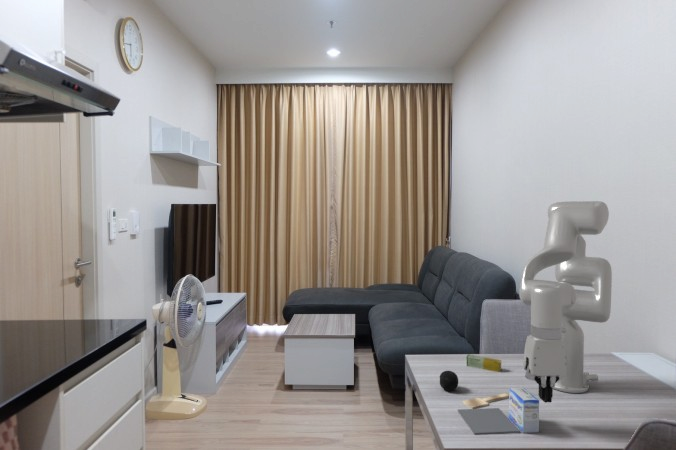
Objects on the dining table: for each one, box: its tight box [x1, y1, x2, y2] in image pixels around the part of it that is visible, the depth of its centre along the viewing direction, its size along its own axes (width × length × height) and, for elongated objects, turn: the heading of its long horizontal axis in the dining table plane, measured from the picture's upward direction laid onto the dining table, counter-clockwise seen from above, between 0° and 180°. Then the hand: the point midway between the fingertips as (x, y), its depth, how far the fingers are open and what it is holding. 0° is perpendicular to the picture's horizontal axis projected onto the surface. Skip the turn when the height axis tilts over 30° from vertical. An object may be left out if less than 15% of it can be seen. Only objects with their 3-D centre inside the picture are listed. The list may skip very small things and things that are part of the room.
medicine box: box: [508, 387, 540, 434], centre depth 116 cm, size 8×4×9 cm, turn 5°
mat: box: [457, 407, 521, 435], centre depth 119 cm, size 12×13×1 cm
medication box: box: [466, 353, 502, 373], centre depth 158 cm, size 12×3×4 cm, turn 58°
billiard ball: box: [438, 370, 459, 392], centre depth 139 cm, size 6×6×6 cm
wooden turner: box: [462, 392, 509, 409], centre depth 131 cm, size 16×4×1 cm, turn 113°
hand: (545, 400), depth 116 cm, fingers closed
